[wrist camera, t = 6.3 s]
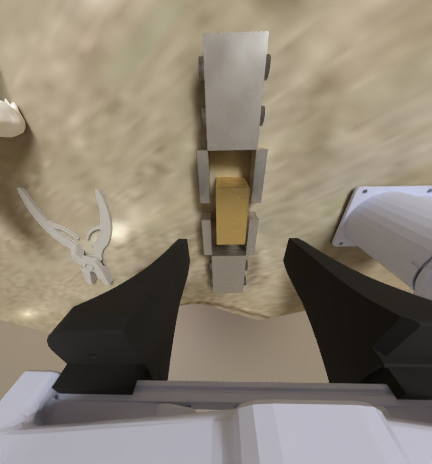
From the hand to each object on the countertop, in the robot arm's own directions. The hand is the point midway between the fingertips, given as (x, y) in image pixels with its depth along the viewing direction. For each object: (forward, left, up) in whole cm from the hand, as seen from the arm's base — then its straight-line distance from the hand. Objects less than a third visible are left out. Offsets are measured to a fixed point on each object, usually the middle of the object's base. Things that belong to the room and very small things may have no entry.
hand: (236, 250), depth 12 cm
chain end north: (0, +7, -9) cm, 11 cm away
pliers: (+20, +5, -10) cm, 23 cm away
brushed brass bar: (0, 0, -9) cm, 9 cm away
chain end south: (0, -7, -9) cm, 11 cm away
